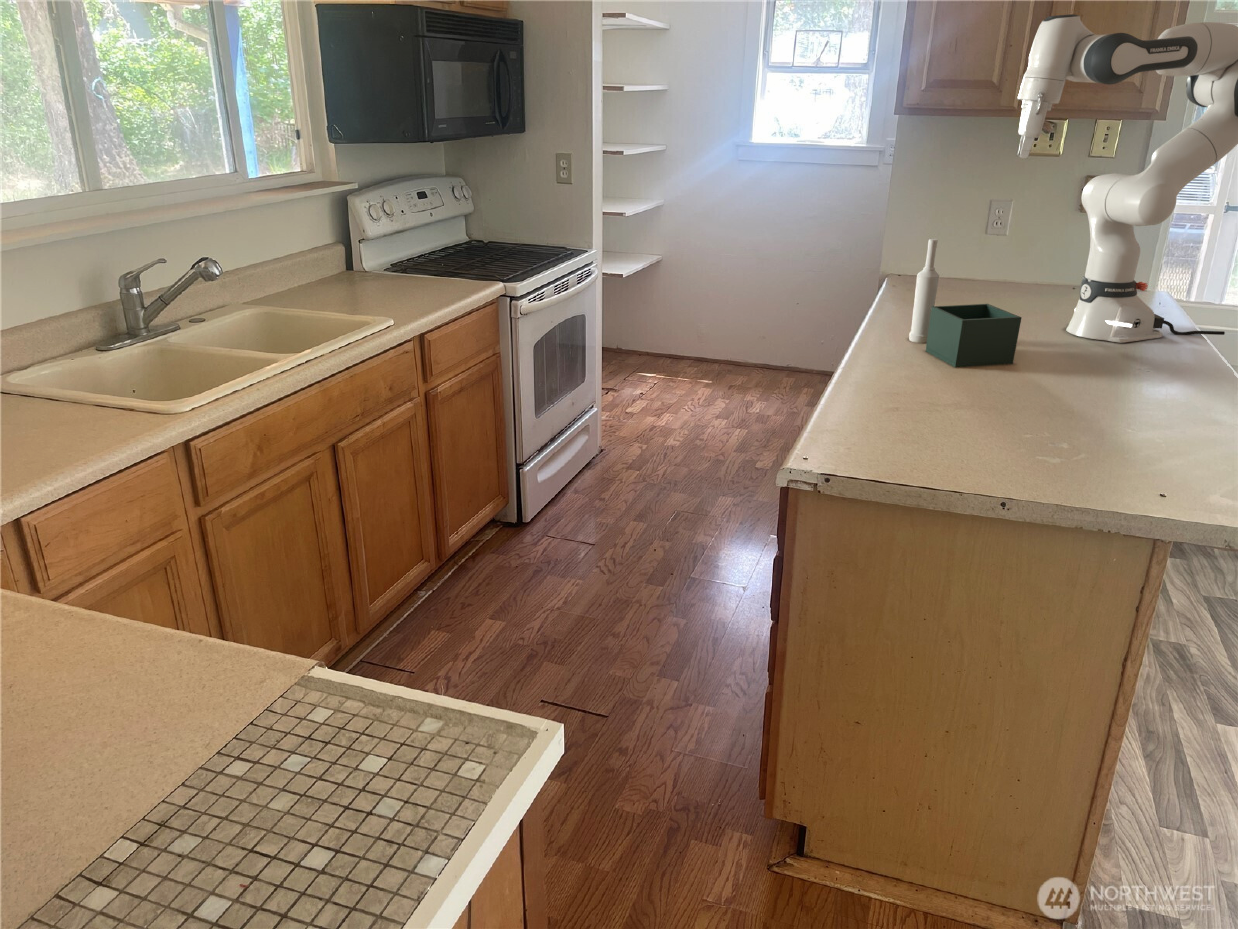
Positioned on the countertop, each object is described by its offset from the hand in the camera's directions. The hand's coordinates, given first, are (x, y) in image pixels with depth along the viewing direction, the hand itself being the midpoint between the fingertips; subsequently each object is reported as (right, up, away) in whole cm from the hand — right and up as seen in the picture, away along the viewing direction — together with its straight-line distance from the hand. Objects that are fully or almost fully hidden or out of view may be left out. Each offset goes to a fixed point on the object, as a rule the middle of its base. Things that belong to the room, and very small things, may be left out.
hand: (1022, 157), depth 203 cm
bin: (-11, -46, +3) cm, 48 cm away
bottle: (-18, -40, +17) cm, 47 cm away
